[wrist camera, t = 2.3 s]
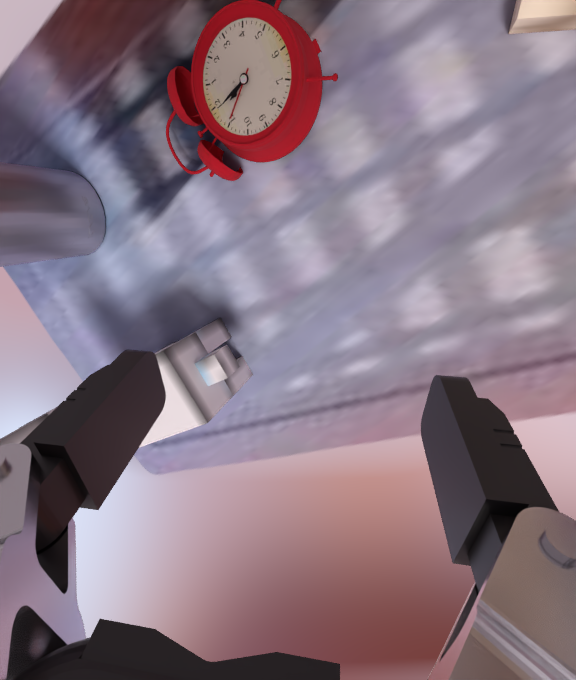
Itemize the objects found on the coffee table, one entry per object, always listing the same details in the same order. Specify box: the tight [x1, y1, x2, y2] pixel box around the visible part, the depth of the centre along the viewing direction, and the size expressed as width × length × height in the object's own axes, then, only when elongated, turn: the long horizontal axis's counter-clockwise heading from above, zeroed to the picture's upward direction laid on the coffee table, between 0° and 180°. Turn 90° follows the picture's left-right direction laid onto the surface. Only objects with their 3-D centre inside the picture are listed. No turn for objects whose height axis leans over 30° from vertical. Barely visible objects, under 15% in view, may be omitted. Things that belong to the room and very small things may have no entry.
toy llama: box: [0, 318, 253, 447], centre depth 32 cm, size 8×18×20 cm, turn 120°
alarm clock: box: [166, 0, 338, 181], centre depth 27 cm, size 10×6×15 cm
